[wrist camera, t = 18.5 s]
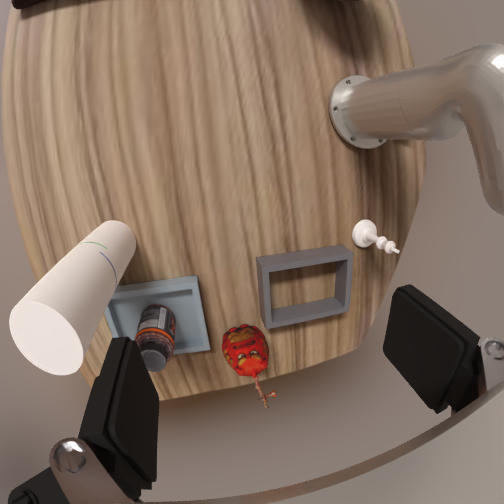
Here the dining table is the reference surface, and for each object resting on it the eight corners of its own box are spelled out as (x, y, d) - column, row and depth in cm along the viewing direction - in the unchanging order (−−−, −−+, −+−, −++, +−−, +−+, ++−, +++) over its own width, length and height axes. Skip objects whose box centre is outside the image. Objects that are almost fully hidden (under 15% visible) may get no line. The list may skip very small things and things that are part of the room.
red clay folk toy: (256, 316, 49) (280, 374, 35) (267, 344, 51) (291, 403, 38) (215, 330, 48) (225, 393, 34) (229, 358, 51) (242, 419, 37)
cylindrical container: (115, 274, 42) (59, 386, 18) (85, 241, 39) (-1, 331, 16) (145, 245, 41) (100, 349, 18) (114, 210, 38) (29, 282, 15)
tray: (196, 274, 44) (197, 281, 42) (209, 341, 49) (210, 349, 46) (102, 287, 42) (98, 294, 39) (124, 350, 46) (122, 359, 44)
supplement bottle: (177, 332, 46) (176, 377, 36) (144, 333, 45) (135, 377, 35) (174, 301, 44) (170, 344, 34) (138, 302, 43) (126, 344, 33)
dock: (341, 244, 48) (353, 252, 44) (339, 300, 51) (348, 311, 48) (256, 257, 45) (261, 266, 41) (260, 316, 49) (266, 329, 45)
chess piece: (368, 249, 49) (401, 270, 40) (347, 241, 48) (380, 262, 38) (378, 225, 48) (414, 241, 39) (359, 215, 46) (394, 231, 37)
